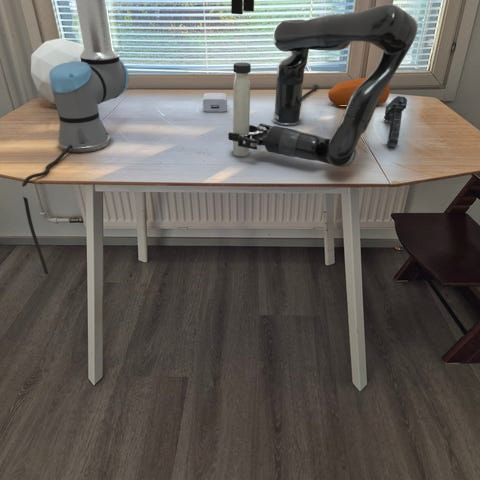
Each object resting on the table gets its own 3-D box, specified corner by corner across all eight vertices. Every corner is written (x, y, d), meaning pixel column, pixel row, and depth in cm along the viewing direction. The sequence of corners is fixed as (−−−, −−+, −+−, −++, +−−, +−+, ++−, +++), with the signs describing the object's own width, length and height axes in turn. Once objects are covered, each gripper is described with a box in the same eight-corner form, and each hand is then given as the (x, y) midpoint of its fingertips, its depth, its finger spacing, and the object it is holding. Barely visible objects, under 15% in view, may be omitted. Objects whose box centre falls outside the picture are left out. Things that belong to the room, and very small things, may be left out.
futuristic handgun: (389, 146, 153) (397, 104, 149) (399, 145, 125) (409, 94, 122) (379, 144, 154) (386, 103, 150) (386, 144, 126) (395, 93, 122)
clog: (332, 114, 163) (392, 106, 164) (333, 87, 157) (396, 78, 158) (323, 105, 173) (381, 98, 174) (324, 79, 167) (383, 71, 167)
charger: (226, 100, 170) (227, 111, 158) (204, 100, 170) (203, 111, 158) (226, 88, 168) (226, 99, 155) (204, 88, 167) (202, 99, 155)
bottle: (251, 153, 125) (254, 65, 110) (240, 157, 122) (241, 68, 108) (241, 149, 127) (242, 63, 113) (229, 153, 125) (229, 65, 110)
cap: (253, 71, 111) (254, 64, 110) (241, 74, 108) (241, 66, 107) (242, 69, 114) (242, 61, 113) (230, 71, 111) (230, 63, 110)
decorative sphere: (41, 71, 170) (18, 23, 146) (103, 69, 174) (90, 22, 151) (41, 120, 163) (17, 77, 140) (106, 117, 167) (93, 75, 144)
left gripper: (246, -101, 99) (244, 8, 112) (209, -112, 84) (212, 15, 97) (275, -102, 96) (269, 9, 109) (242, -113, 81) (241, 17, 94)
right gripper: (296, 121, 118) (247, 112, 125) (275, 136, 108) (223, 126, 114) (294, 146, 122) (247, 136, 129) (273, 163, 112) (223, 151, 119)
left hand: (242, 12), depth 103 cm, fingers open, 7 cm apart
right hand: (236, 131), depth 122 cm, fingers open, 8 cm apart
